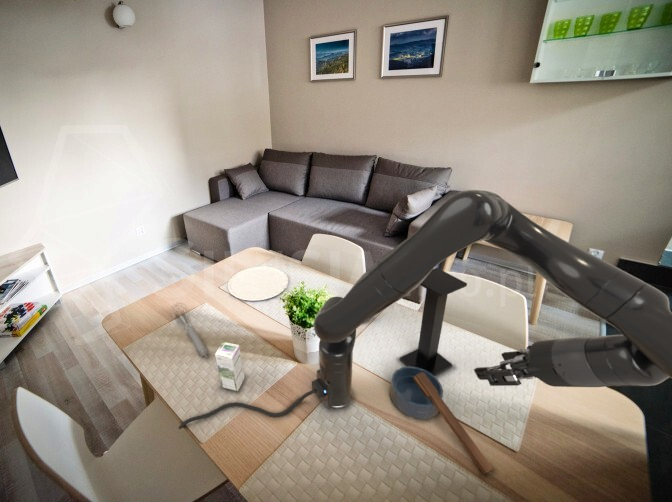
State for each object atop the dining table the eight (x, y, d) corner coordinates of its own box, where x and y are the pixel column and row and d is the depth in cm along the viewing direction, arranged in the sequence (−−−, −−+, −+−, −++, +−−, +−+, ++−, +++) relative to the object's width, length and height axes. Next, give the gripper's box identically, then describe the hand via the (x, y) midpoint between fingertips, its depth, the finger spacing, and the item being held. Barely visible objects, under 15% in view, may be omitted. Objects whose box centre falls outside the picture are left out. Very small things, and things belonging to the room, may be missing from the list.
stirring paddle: (481, 475, 75) (484, 474, 74) (412, 377, 91) (414, 375, 90) (492, 468, 77) (495, 467, 76) (421, 373, 92) (423, 370, 91)
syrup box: (245, 377, 106) (239, 343, 100) (237, 392, 101) (231, 357, 95) (229, 373, 108) (223, 340, 102) (221, 388, 103) (214, 354, 97)
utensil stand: (424, 382, 99) (438, 295, 86) (399, 360, 108) (409, 277, 94) (452, 367, 103) (469, 282, 90) (426, 347, 112) (439, 266, 98)
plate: (237, 309, 139) (237, 307, 138) (221, 277, 164) (221, 275, 163) (299, 291, 148) (298, 288, 147) (275, 262, 173) (274, 260, 172)
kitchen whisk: (199, 364, 113) (195, 350, 110) (170, 315, 139) (167, 302, 137) (215, 356, 116) (212, 342, 113) (184, 309, 142) (181, 297, 140)
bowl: (415, 429, 86) (417, 413, 84) (380, 391, 97) (381, 377, 95) (450, 408, 91) (454, 392, 88) (413, 374, 102) (415, 360, 100)
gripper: (582, 325, 58) (503, 336, 72) (532, 355, 53) (457, 360, 67) (610, 368, 55) (522, 370, 70) (561, 403, 50) (477, 398, 65)
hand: (490, 365), depth 68 cm, fingers open, 8 cm apart
